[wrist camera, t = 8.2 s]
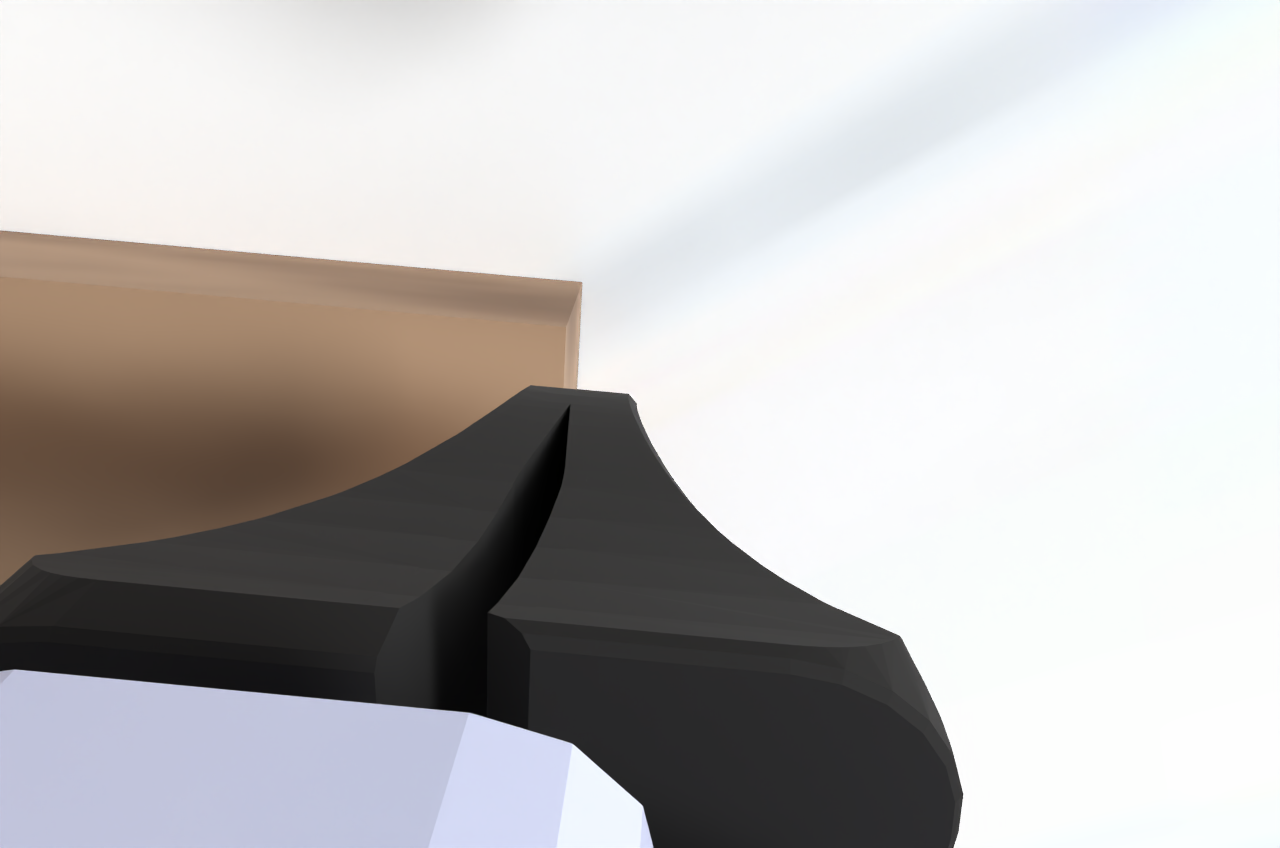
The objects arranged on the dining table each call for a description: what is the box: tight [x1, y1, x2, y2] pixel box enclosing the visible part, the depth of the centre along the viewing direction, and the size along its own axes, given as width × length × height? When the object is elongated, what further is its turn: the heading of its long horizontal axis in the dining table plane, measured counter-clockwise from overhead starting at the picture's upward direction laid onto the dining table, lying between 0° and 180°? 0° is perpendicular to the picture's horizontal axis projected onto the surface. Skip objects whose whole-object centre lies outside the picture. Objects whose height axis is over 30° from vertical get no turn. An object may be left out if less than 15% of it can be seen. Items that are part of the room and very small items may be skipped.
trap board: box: [0, 231, 582, 585], centre depth 24 cm, size 16×24×3 cm, turn 86°
